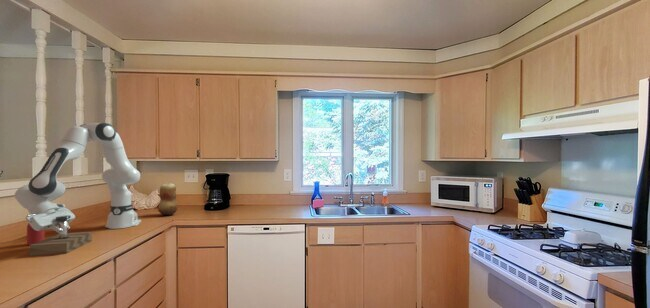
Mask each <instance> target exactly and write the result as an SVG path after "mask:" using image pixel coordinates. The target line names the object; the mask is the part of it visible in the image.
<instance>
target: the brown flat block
mask: <svg viewBox="0 0 650 308" xmlns="http://www.w3.org/2000/svg"><path fill="white" fill-rule="evenodd" d="M92 239H93V233H92V231H86V232H83V231H82V232H67V238H66V239H59V233H58V234H55V235H53V236H51V237H47V238H45V240H42V241H39V242H37V243H34V244H32V245H29V256H30V257H35V256H45V255H46V256H48V255H60V254H61V255H62V254H68V253H71V252H72V251H74V250H76V249H78V248H80V247H83V246H84V245H86V244H88V243H91V242H92V241H93V240H92Z"/></svg>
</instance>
